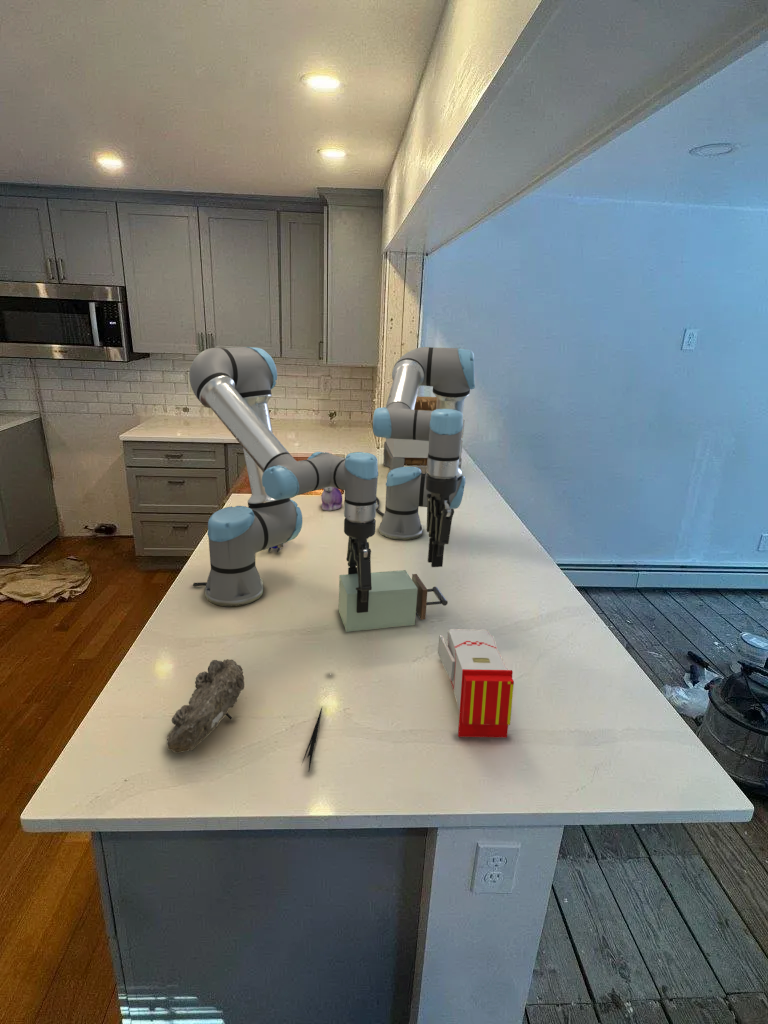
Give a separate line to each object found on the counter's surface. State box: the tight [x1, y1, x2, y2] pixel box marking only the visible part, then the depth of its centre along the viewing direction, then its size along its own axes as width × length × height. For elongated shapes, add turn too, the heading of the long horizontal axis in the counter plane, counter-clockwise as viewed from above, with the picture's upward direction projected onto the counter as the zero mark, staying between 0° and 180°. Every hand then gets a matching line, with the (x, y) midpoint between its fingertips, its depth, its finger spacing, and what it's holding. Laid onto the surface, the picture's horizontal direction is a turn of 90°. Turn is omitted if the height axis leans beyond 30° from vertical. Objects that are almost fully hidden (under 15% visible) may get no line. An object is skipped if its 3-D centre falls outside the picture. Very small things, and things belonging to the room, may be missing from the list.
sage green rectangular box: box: [338, 569, 417, 633], centre depth 143 cm, size 18×10×10 cm, turn 105°
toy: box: [437, 628, 515, 738], centre depth 117 cm, size 12×13×30 cm
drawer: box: [411, 573, 449, 621], centre depth 145 cm, size 22×9×8 cm, turn 105°
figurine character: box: [267, 544, 284, 553], centre depth 184 cm, size 7×8×15 cm
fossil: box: [166, 658, 245, 754], centre depth 106 cm, size 22×10×15 cm
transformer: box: [383, 395, 465, 472], centre depth 268 cm, size 34×33×41 cm
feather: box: [301, 673, 332, 771], centre depth 108 cm, size 2×28×2 cm
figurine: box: [320, 487, 343, 511], centre depth 220 cm, size 9×10×15 cm
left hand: (357, 600), depth 142 cm, fingers closed on sage green rectangular box, 10 cm apart
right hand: (434, 563), depth 144 cm, fingers open, 2 cm apart
